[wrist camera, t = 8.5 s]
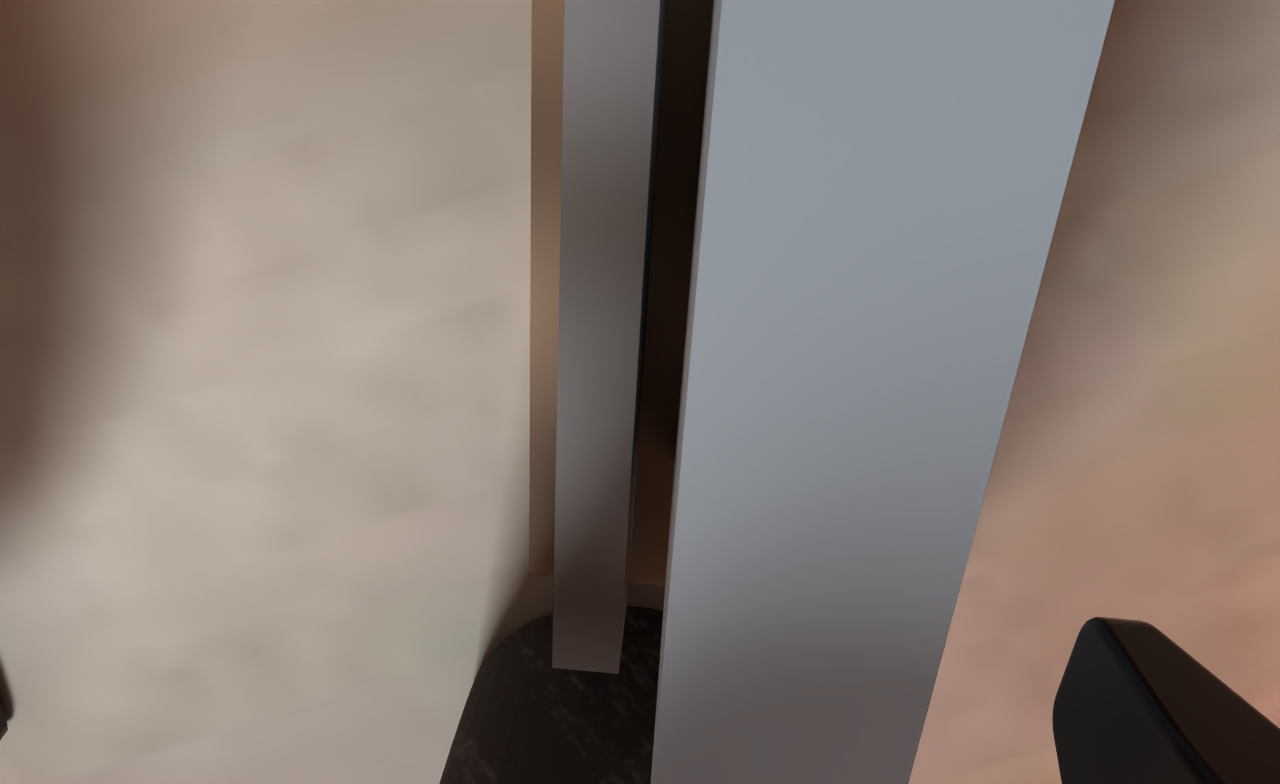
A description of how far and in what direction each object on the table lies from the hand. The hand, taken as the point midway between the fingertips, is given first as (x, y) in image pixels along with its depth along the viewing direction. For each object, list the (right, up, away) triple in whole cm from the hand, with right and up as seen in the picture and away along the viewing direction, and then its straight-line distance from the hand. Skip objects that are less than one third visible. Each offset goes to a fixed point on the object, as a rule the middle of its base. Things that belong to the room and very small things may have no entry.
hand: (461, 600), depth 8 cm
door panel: (+3, +5, +10) cm, 11 cm away
